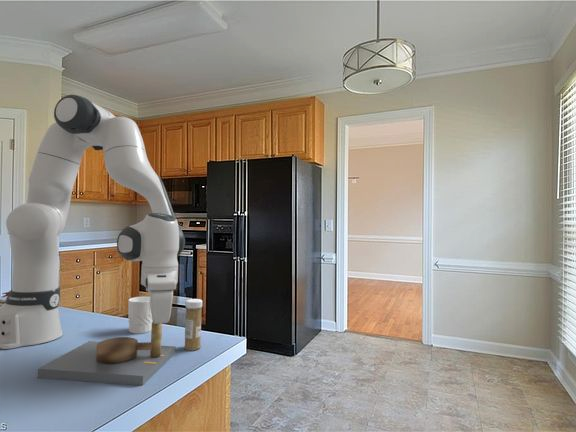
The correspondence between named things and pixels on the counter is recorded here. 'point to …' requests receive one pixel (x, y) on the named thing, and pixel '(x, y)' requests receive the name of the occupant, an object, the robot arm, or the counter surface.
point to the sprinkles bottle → (193, 324)
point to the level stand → (105, 366)
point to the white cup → (139, 315)
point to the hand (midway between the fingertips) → (157, 331)
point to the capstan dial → (128, 347)
